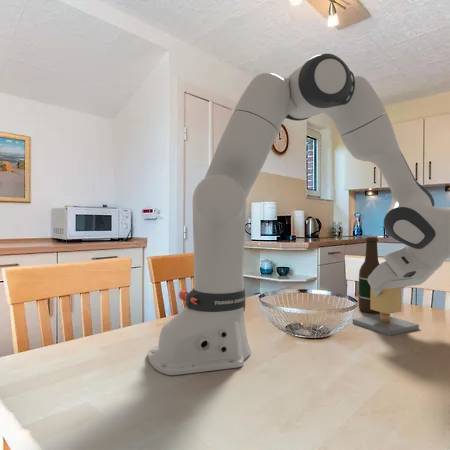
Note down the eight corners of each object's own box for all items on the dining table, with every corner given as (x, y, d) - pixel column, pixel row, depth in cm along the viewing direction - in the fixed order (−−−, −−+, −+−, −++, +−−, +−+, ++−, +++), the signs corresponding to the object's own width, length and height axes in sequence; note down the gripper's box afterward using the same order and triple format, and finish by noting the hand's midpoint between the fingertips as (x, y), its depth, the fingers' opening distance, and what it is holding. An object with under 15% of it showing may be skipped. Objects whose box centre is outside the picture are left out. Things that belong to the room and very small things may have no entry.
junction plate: (389, 335, 90) (389, 319, 90) (352, 323, 100) (352, 308, 100) (418, 328, 95) (419, 313, 95) (381, 317, 106) (381, 304, 106)
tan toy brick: (387, 314, 94) (387, 279, 94) (370, 309, 99) (370, 276, 99) (401, 311, 96) (401, 278, 96) (383, 306, 101) (383, 275, 101)
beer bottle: (385, 309, 115) (386, 237, 115) (382, 315, 109) (383, 238, 108) (360, 306, 119) (361, 236, 119) (356, 311, 113) (356, 237, 112)
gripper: (433, 250, 96) (400, 280, 105) (382, 253, 87) (351, 286, 95) (449, 268, 92) (414, 298, 101) (399, 274, 83) (365, 306, 92)
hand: (383, 292), depth 98 cm, fingers closed on tan toy brick, 6 cm apart
